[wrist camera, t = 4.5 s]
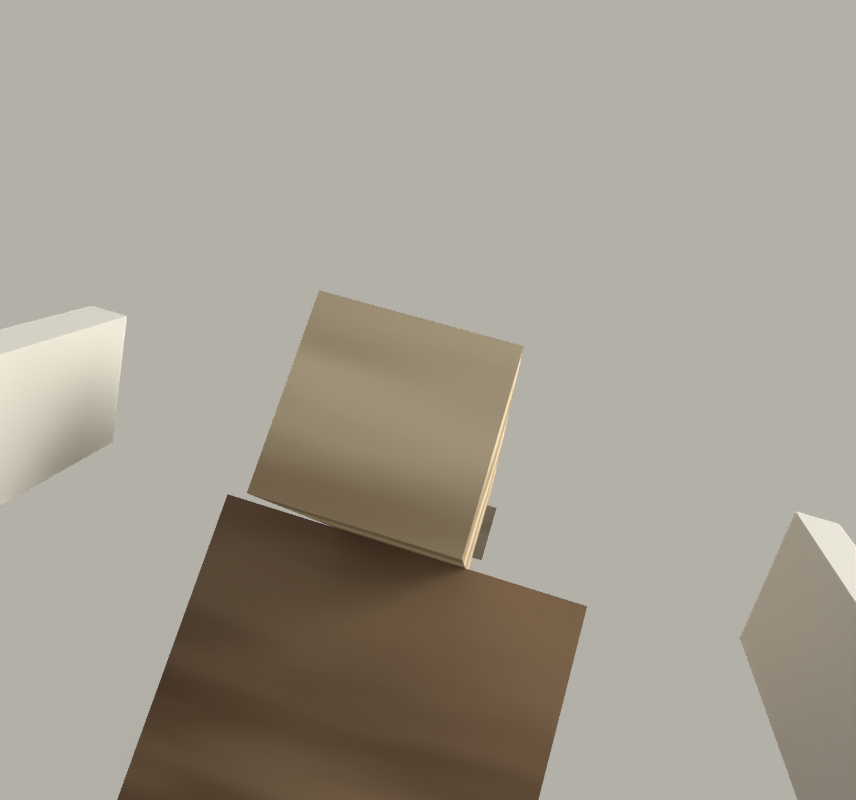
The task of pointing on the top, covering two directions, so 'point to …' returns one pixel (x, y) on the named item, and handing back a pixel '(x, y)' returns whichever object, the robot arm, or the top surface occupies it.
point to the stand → (352, 674)
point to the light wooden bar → (391, 429)
